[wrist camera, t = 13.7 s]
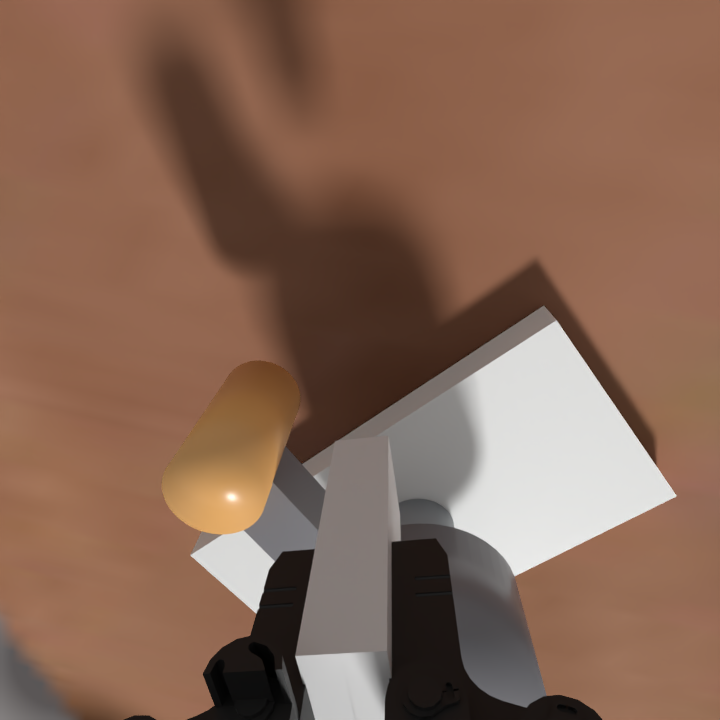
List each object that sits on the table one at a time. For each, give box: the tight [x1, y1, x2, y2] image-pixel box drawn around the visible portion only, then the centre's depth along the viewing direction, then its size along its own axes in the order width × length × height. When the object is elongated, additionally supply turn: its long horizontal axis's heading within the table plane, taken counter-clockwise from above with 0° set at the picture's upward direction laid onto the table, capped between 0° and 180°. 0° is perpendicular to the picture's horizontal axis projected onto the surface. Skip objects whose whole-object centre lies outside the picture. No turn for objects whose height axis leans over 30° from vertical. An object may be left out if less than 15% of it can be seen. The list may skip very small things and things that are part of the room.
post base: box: [191, 306, 676, 614], centre depth 25 cm, size 22×11×6 cm, turn 128°
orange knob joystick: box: [162, 361, 546, 708], centre depth 19 cm, size 16×8×6 cm, turn 37°
